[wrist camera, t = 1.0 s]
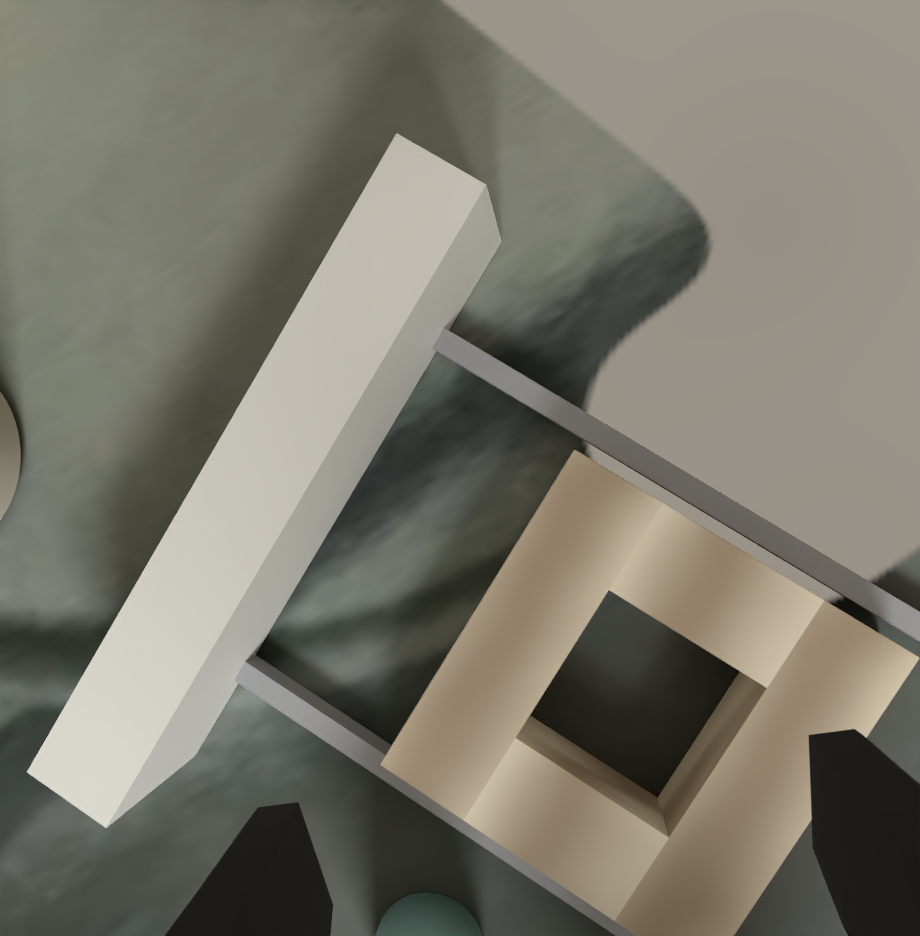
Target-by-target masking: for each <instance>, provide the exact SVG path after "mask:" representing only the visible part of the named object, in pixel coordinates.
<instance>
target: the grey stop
mask: <svg viewBox="0 0 920 936" xmlns="http://www.w3.org/2000/svg"><path fill="white" fill-rule="evenodd" d="M501 242H502V240H501V237H500V233H499V229H498V226H497V222H496V218H495V215H494V211H493V207H492V204H491V200H490V196H489V193H488V189H487V185H486V184H484V183H483V182H481V181H479V180H477V179H476V178H474V177H472V176H470V175H469V174H467V173H465V172H463V171H462V170H460V169H458V168H456V167H455V166H453V165H451V164H449V163H448V162H446V161H444V160H442V159H441V158H439V157H437V156H435V155H434V154H432V153H430V152H428V151H427V150H425V149H423V148H421V147H420V146H418V145H416V144H414V143H413V142H411V141H409V140H408V139H406V138H404V137H402V136H401V135H399V134H397V133H396V135H395V137H394V138H393V140H392V142H391V144H390V145H389V147H388V149H387V151H386V152H385V154H384V156H383V157H382V159H381V161H380V163H379V164H378V166H377V168H376V170H375V171H374V173H373V175H372V176H371V178H370V180H369V182H368V183H367V185H366V187H365V189H364V190H363V192H362V194H361V196H360V197H359V199H358V201H357V202H356V204H355V206H354V208H353V209H352V211H351V213H350V215H349V216H348V218H347V220H346V221H345V223H344V225H343V227H342V228H341V230H340V232H339V234H338V235H337V237H336V239H335V240H334V242H333V244H332V246H331V247H330V249H329V251H328V253H327V254H326V256H325V258H324V259H323V261H322V263H321V265H320V266H319V268H318V270H317V272H316V273H315V275H314V277H313V278H312V280H311V282H310V284H309V285H308V287H307V289H306V291H305V292H304V294H303V296H302V298H301V299H300V301H299V303H298V304H297V306H296V308H295V310H294V311H293V313H292V315H291V317H290V318H289V320H288V322H287V323H286V325H285V327H284V329H283V330H282V332H281V334H280V336H279V337H278V339H277V341H276V342H275V344H274V346H273V348H272V349H271V351H270V353H269V355H268V356H267V358H266V360H265V361H264V363H263V365H262V367H261V368H260V370H259V372H258V374H257V375H256V377H255V379H254V380H253V382H252V384H251V386H250V387H249V389H248V391H247V393H246V394H245V396H244V398H243V400H242V401H241V403H240V405H239V406H238V408H237V410H236V412H235V413H234V415H233V417H232V419H231V420H230V422H229V424H228V425H227V427H226V429H225V431H224V432H223V434H222V436H221V438H220V439H219V441H218V443H217V444H216V446H215V448H214V450H213V451H212V453H211V455H210V457H209V458H208V460H207V462H206V463H205V465H204V467H203V469H202V470H201V472H200V474H199V476H198V477H197V479H196V481H195V482H194V484H193V486H192V488H191V489H190V491H189V493H188V495H187V496H186V498H185V500H184V501H183V503H182V505H181V507H180V508H179V510H178V512H177V514H176V515H175V517H174V519H173V521H172V522H171V524H170V526H169V527H168V529H167V531H166V533H165V534H164V536H163V538H162V540H161V541H160V543H159V545H158V546H157V548H156V550H155V552H154V553H153V555H152V557H151V559H150V560H149V562H148V564H147V565H146V567H145V569H144V571H143V572H142V574H141V576H140V578H139V579H138V581H137V583H136V584H135V586H134V588H133V590H132V591H131V593H130V595H129V597H128V598H127V600H126V602H125V603H124V605H123V607H122V609H121V610H120V612H119V614H118V616H117V617H116V619H115V621H114V623H113V624H112V626H111V628H110V629H109V631H108V633H107V635H106V636H105V638H104V640H103V642H102V643H101V645H100V647H99V648H98V650H97V652H96V654H95V655H94V657H93V659H92V661H91V662H90V664H89V666H88V667H87V669H86V671H85V673H84V674H83V676H82V678H81V680H80V681H79V683H78V685H77V686H76V688H75V690H74V692H73V693H72V695H71V697H70V699H69V700H68V702H67V704H66V705H65V707H64V709H63V711H62V712H61V714H60V716H59V718H58V719H57V721H56V723H55V725H54V726H53V728H52V730H51V731H50V733H49V735H48V737H47V738H46V740H45V742H44V744H43V745H42V747H41V749H40V750H39V752H38V754H37V756H36V757H35V759H34V761H33V763H32V764H31V766H30V768H29V769H28V771H27V773H29V774H30V775H32V776H33V777H34V778H36V779H37V780H39V781H40V782H41V783H43V784H44V785H46V786H47V787H49V788H50V789H51V790H53V791H54V792H56V793H57V794H59V795H60V796H61V797H63V798H64V799H66V800H67V801H68V802H70V803H71V804H73V805H74V806H76V807H77V808H78V809H80V810H81V811H83V812H84V813H85V814H87V815H88V816H90V817H91V818H93V819H94V820H95V821H97V822H98V823H100V824H101V825H102V826H104V827H105V828H107V827H108V826H109V825H111V824H112V823H113V822H114V821H115V820H117V819H118V818H119V817H120V816H122V815H123V814H124V813H125V812H127V811H128V810H129V809H130V808H131V807H133V806H134V805H135V804H136V803H138V802H139V801H140V800H141V799H143V798H144V797H145V796H146V795H147V794H149V793H150V792H151V791H152V790H154V789H155V788H156V787H157V786H159V785H160V784H161V783H162V782H163V781H165V780H166V779H167V778H168V777H170V776H171V775H172V774H173V773H175V772H176V771H177V770H178V769H179V768H181V767H182V766H183V765H184V764H186V763H187V762H188V761H189V760H191V759H192V758H193V757H194V756H195V755H196V754H197V752H198V751H199V749H200V747H201V745H202V744H203V742H204V740H205V739H206V737H207V735H208V734H209V732H210V730H211V729H212V727H213V725H214V724H215V722H216V720H217V719H218V717H219V715H220V714H221V712H222V710H223V709H224V707H225V705H226V704H227V702H228V700H229V699H230V697H231V695H232V693H233V692H234V690H235V688H236V687H237V685H238V683H239V684H240V685H242V686H243V687H245V688H246V689H248V690H249V691H251V692H252V693H254V694H255V695H257V696H258V697H260V698H261V699H263V700H264V701H266V702H267V703H269V704H270V705H272V706H273V707H275V708H276V709H278V710H279V711H281V712H282V713H284V714H285V715H287V716H288V717H290V718H291V719H293V720H294V721H296V722H297V723H299V724H300V725H302V726H303V727H305V728H306V729H308V730H309V731H311V732H312V733H314V734H315V735H317V736H318V737H320V738H321V739H323V740H324V741H325V742H327V743H328V744H330V745H331V746H333V747H334V748H336V749H337V750H339V751H340V752H342V753H343V754H345V755H346V756H348V757H349V758H351V759H352V760H354V761H355V762H357V763H358V764H360V765H361V766H363V767H364V768H366V769H367V770H369V771H370V772H372V773H373V774H375V775H376V776H378V777H379V778H381V779H382V780H384V781H385V782H387V783H388V784H390V785H391V786H393V787H394V788H396V789H397V790H399V791H400V792H402V793H403V794H405V795H406V796H408V797H409V798H411V799H412V800H414V801H415V802H417V803H418V804H420V805H421V806H423V807H424V808H426V809H427V810H429V811H430V812H432V813H433V814H435V815H436V816H438V817H439V818H441V819H442V820H444V821H445V822H447V823H448V824H450V825H451V826H453V827H454V828H455V829H457V830H458V831H460V832H461V833H463V834H464V835H466V836H467V837H469V838H470V839H472V840H473V841H475V842H476V843H478V844H479V845H481V846H482V847H484V848H485V849H487V850H488V851H490V852H491V853H493V854H494V855H496V856H497V857H499V858H500V859H502V860H503V861H505V862H506V863H508V864H509V865H511V866H512V867H514V868H515V869H517V870H518V871H520V872H521V873H523V874H524V875H526V876H527V877H529V878H530V879H532V880H533V881H535V882H536V883H538V884H539V885H541V886H542V887H544V888H545V889H547V890H548V891H550V892H551V893H553V894H554V895H556V896H557V897H559V898H560V899H562V900H563V901H565V902H566V903H568V904H569V905H571V906H572V907H574V908H575V909H577V910H578V911H580V912H581V913H583V914H584V915H586V916H587V917H588V918H590V919H591V920H593V921H594V922H596V923H597V924H599V925H600V926H602V927H603V928H605V929H606V930H608V931H609V932H611V933H612V934H614V935H615V936H636V935H635V934H633V933H632V932H630V931H629V930H627V929H626V928H624V927H623V926H621V925H620V924H618V923H617V922H615V921H614V920H612V919H611V918H609V917H608V916H606V915H605V914H603V913H602V912H600V911H599V910H597V909H596V908H594V907H593V906H591V905H590V904H588V903H587V902H585V901H584V900H582V899H581V898H579V897H578V896H576V895H575V894H573V893H572V892H570V891H569V890H567V889H566V888H564V887H563V886H561V885H560V884H558V883H557V882H555V881H554V880H552V879H551V878H549V877H548V876H546V875H545V874H543V873H542V872H540V871H539V870H537V869H536V868H534V867H533V866H531V865H530V864H528V863H527V862H525V861H524V860H522V859H521V858H519V857H518V856H516V855H515V854H513V853H512V852H510V851H509V850H507V849H506V848H504V847H503V846H501V845H500V844H498V843H497V842H495V841H494V840H492V839H491V838H489V837H488V836H486V835H485V834H483V833H482V832H480V831H479V830H477V829H476V828H474V827H473V826H471V825H470V824H468V823H467V822H465V821H464V820H462V819H461V818H459V817H458V816H456V815H455V814H453V813H452V812H450V811H449V810H447V809H446V808H444V807H443V806H441V805H440V804H438V803H437V802H435V801H434V800H432V799H431V798H429V797H428V796H426V795H425V794H423V793H422V792H420V791H419V790H417V789H416V788H414V787H413V786H411V785H410V784H408V783H407V782H405V781H404V780H402V779H401V778H399V777H398V776H396V775H395V774H393V773H392V772H390V771H389V770H387V769H386V768H384V767H383V766H381V765H380V764H381V763H382V761H383V759H384V758H385V756H386V754H387V752H388V751H389V749H390V747H391V746H392V745H391V744H389V743H388V742H386V741H385V740H383V739H382V738H380V737H379V736H377V735H376V734H374V733H373V732H371V731H370V730H368V729H367V728H365V727H364V726H362V725H360V724H359V723H357V722H356V721H354V720H353V719H351V718H350V717H348V716H347V715H345V714H344V713H342V712H341V711H339V710H338V709H336V708H335V707H333V706H332V705H330V704H329V703H327V702H326V701H324V700H323V699H321V698H320V697H318V696H317V695H315V694H314V693H312V692H311V691H309V690H308V689H306V688H305V687H303V686H302V685H300V684H299V683H297V682H296V681H294V680H293V679H291V678H290V677H288V676H287V675H285V674H284V673H282V672H281V671H279V670H278V669H276V668H275V667H273V666H272V665H270V664H269V663H267V662H266V661H264V660H262V659H261V658H259V657H258V656H256V653H257V652H258V650H259V648H260V647H261V645H262V643H263V641H264V640H265V638H266V636H267V635H268V633H269V631H270V630H271V628H272V626H273V625H274V623H275V621H276V620H277V618H278V616H279V615H280V613H281V611H282V610H283V608H284V606H285V605H286V603H287V601H288V600H289V598H290V596H291V595H292V593H293V591H294V589H295V588H296V586H297V584H298V583H299V581H300V579H301V578H302V576H303V574H304V573H305V571H306V569H307V568H308V566H309V564H310V563H311V561H312V559H313V558H314V556H315V554H316V553H317V551H318V549H319V548H320V546H321V544H322V543H323V541H324V539H325V537H326V536H327V534H328V532H329V531H330V529H331V527H332V526H333V524H334V522H335V521H336V519H337V517H338V516H339V514H340V512H341V511H342V509H343V507H344V506H345V504H346V502H347V501H348V499H349V497H350V496H351V494H352V492H353V491H354V489H355V487H356V485H357V484H358V482H359V480H360V479H361V477H362V475H363V474H364V472H365V470H366V469H367V467H368V465H369V464H370V462H371V460H372V459H373V457H374V455H375V454H376V452H377V450H378V449H379V447H380V445H381V444H382V442H383V440H384V439H385V437H386V435H387V433H388V432H389V430H390V428H391V427H392V425H393V423H394V422H395V420H396V418H397V417H398V415H399V413H400V412H401V410H402V408H403V407H404V405H405V403H406V402H407V400H408V398H409V397H410V395H411V393H412V392H413V390H414V388H415V387H416V385H417V383H418V381H419V380H420V378H421V376H422V375H423V373H424V371H425V370H426V368H427V366H428V365H429V363H430V361H431V360H432V358H433V356H434V355H435V353H436V352H438V353H440V354H441V355H443V356H445V357H446V358H448V359H450V360H451V361H453V362H455V363H456V364H458V365H460V366H461V367H463V368H465V369H466V370H468V371H470V372H471V373H473V374H475V375H476V376H478V377H480V378H481V379H483V380H485V381H486V382H488V383H490V384H491V385H493V386H495V387H496V388H498V389H500V390H501V391H503V392H505V393H506V394H508V395H510V396H511V397H513V398H515V399H516V400H518V401H520V402H521V403H523V404H525V405H526V406H528V407H530V408H531V409H533V410H535V411H536V412H538V413H540V414H541V415H543V416H545V417H546V418H548V419H549V420H551V421H553V422H554V423H556V424H558V425H559V426H561V427H563V428H564V429H566V430H568V431H569V432H571V433H573V434H574V435H576V436H578V437H579V438H581V439H583V440H584V441H586V442H588V443H589V444H591V445H593V446H594V447H596V448H598V449H599V450H601V451H603V452H604V453H606V454H608V455H610V456H611V457H613V458H614V459H616V460H618V461H620V462H621V463H623V464H625V465H626V466H628V467H629V468H631V469H633V470H634V471H636V472H638V473H639V474H641V475H643V476H644V477H646V478H648V479H649V480H651V481H653V482H654V483H656V484H658V485H659V486H661V487H663V488H664V489H666V490H668V491H669V492H671V493H673V494H674V495H676V496H678V497H679V498H681V499H682V500H684V501H686V502H687V503H689V504H691V505H692V506H694V507H696V508H697V509H699V510H701V511H702V512H704V513H706V514H707V515H709V516H711V517H712V518H714V519H716V520H717V521H719V522H721V523H722V524H725V525H726V526H727V527H729V528H731V529H733V530H734V531H736V532H737V533H739V534H741V535H742V536H744V537H746V538H747V539H749V540H751V541H752V542H754V543H756V544H757V545H759V546H761V547H762V548H764V549H766V550H767V551H769V552H771V553H772V554H774V555H776V556H777V557H779V558H781V559H782V560H784V561H786V562H787V563H789V564H791V565H792V566H794V567H796V568H797V569H799V570H801V571H802V572H804V573H806V574H807V575H809V576H811V577H812V578H814V579H816V580H817V581H819V582H820V583H822V584H824V585H825V586H827V587H829V588H831V589H832V590H834V591H835V592H837V593H839V594H840V595H842V596H844V597H845V598H847V599H849V600H850V601H852V602H854V603H855V604H857V605H859V606H860V607H862V608H864V609H865V610H867V611H869V612H870V613H872V614H874V615H875V616H877V617H879V618H880V619H882V620H884V621H885V622H887V623H889V624H890V625H892V626H894V627H895V628H897V629H899V630H900V631H902V632H904V633H905V634H907V635H909V636H910V637H912V638H914V639H915V640H917V641H919V642H920V612H919V611H917V610H916V609H914V608H912V607H911V606H909V605H907V604H906V603H904V602H902V601H901V600H899V599H897V598H896V597H894V596H892V595H891V594H889V593H887V592H886V591H884V590H882V589H881V588H879V587H877V586H876V585H874V584H872V583H871V582H869V581H867V580H866V579H864V578H862V577H860V576H859V575H857V574H855V573H854V572H852V571H850V570H849V569H847V568H845V567H844V566H842V565H840V564H839V563H837V562H835V561H834V560H832V559H830V558H829V557H827V556H825V555H824V554H822V553H820V552H819V551H817V550H815V549H813V548H812V547H810V546H809V545H807V544H805V543H804V542H802V541H800V540H798V539H797V538H795V537H794V536H792V535H790V534H789V533H787V532H785V531H783V530H782V529H780V528H778V527H777V526H775V525H773V524H772V523H770V522H768V521H767V520H765V519H763V518H762V517H760V516H758V515H757V514H755V513H753V512H752V511H750V510H748V509H747V508H745V507H743V506H742V505H740V504H738V503H737V502H735V501H733V500H732V499H730V498H728V497H727V496H725V495H723V494H722V493H720V492H718V491H717V490H715V489H713V488H712V487H710V486H708V485H706V484H705V483H703V482H701V481H699V480H698V479H696V478H694V477H693V476H691V475H690V474H688V473H686V472H685V471H683V470H681V469H680V468H678V467H676V466H675V465H673V464H671V463H670V462H668V461H666V460H665V459H663V458H661V457H660V456H658V455H656V454H655V453H653V452H651V451H650V450H647V449H646V448H645V447H643V446H641V445H640V444H638V443H636V442H634V441H633V440H631V439H629V438H628V437H626V436H624V435H623V434H621V433H619V432H618V431H616V430H614V429H613V428H611V427H609V426H608V425H606V424H604V423H603V422H601V421H599V420H598V419H596V418H594V417H593V416H591V415H589V414H588V413H586V412H584V411H583V410H581V409H579V408H578V407H576V406H574V405H573V404H571V403H569V402H568V401H566V400H564V399H563V398H561V397H559V396H558V395H556V394H554V393H552V392H551V391H549V390H547V389H546V388H544V387H542V386H541V385H539V384H537V383H536V382H534V381H532V380H531V379H529V378H527V377H526V376H524V375H522V374H521V373H519V372H517V371H516V370H514V369H512V368H511V367H509V366H507V365H506V364H504V363H502V362H501V361H499V360H497V359H496V358H494V357H492V356H491V355H489V354H487V353H486V352H484V351H482V350H481V349H479V348H477V347H475V346H474V345H472V344H470V343H469V342H467V341H465V340H464V339H462V338H460V337H459V336H457V335H455V334H454V333H452V332H450V331H449V329H450V328H451V326H452V324H453V323H454V321H455V319H456V318H457V316H458V314H459V313H460V311H461V309H462V308H463V306H464V304H465V303H466V301H467V299H468V298H469V296H470V294H471V293H472V291H473V289H474V288H475V286H476V284H477V283H478V281H479V279H480V277H481V276H482V274H483V272H484V271H485V269H486V267H487V266H488V264H489V262H490V261H491V259H492V257H493V256H494V254H495V252H496V251H497V249H498V247H499V246H500V244H501Z"/></svg>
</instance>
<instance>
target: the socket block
mask: <svg viewBox="0 0 920 936" xmlns="http://www.w3.org/2000/svg"><path fill="white" fill-rule="evenodd" d="M609 590H610V591H611V592H613V593H615V594H616V595H618V596H619V597H621V598H623V599H624V600H626V601H627V602H629V603H631V604H632V605H634V606H636V607H637V608H639V609H640V610H642V611H644V612H645V613H647V614H648V615H650V616H652V617H653V618H655V619H656V620H658V621H660V622H661V623H663V624H665V625H666V626H668V627H669V628H671V629H673V630H674V631H676V632H677V633H679V634H681V635H682V636H684V637H685V638H687V639H689V640H690V641H692V642H694V643H695V644H697V645H698V646H700V647H702V648H703V649H705V650H706V651H708V652H710V653H711V654H713V655H714V656H716V657H718V658H719V659H721V660H723V661H724V662H726V663H727V664H729V665H731V666H732V667H734V668H735V669H737V670H739V671H740V672H739V673H738V675H737V676H736V678H735V679H734V681H733V683H732V684H731V686H730V687H729V689H728V690H727V692H726V693H725V695H724V696H723V698H722V699H721V701H720V703H719V704H718V706H717V707H716V709H715V710H714V712H713V713H712V715H711V716H710V718H709V719H708V721H707V723H706V724H705V726H704V727H703V729H702V730H701V732H700V733H699V735H698V736H697V738H696V739H695V741H694V743H693V744H692V746H691V747H690V749H689V750H688V752H687V753H686V755H685V756H684V758H683V759H682V761H681V763H680V764H679V766H678V767H677V769H676V770H675V772H674V773H673V775H672V776H671V778H670V779H669V781H668V782H667V784H666V786H665V787H664V789H663V790H662V792H661V793H660V795H659V796H658V798H657V797H656V796H654V795H653V794H651V793H650V792H648V791H646V790H645V789H643V788H642V787H640V786H639V785H637V784H636V783H634V782H632V781H631V780H629V779H628V778H626V777H625V776H623V775H622V774H620V773H619V772H617V771H615V770H614V769H612V768H611V767H609V766H608V765H606V764H605V763H603V762H602V761H600V760H598V759H597V758H595V757H594V756H592V755H591V754H589V753H588V752H586V751H584V750H583V749H581V748H580V747H578V746H577V745H575V744H574V743H572V742H571V741H569V740H567V739H566V738H564V737H563V736H561V735H560V734H558V733H557V732H555V731H554V730H552V729H550V728H549V727H547V726H546V725H544V724H543V723H541V722H540V721H538V720H536V719H535V718H533V717H532V716H530V714H531V713H532V711H533V709H534V708H535V706H536V705H537V703H538V702H539V700H540V698H541V697H542V695H543V694H544V692H545V690H546V689H547V687H548V686H549V684H550V683H551V681H552V679H553V678H554V676H555V675H556V673H557V671H558V670H559V668H560V667H561V665H562V663H563V662H564V660H565V659H566V657H567V656H568V654H569V652H570V651H571V649H572V648H573V646H574V644H575V643H576V641H577V640H578V638H579V637H580V635H581V633H582V632H583V630H584V629H585V627H586V625H587V624H588V622H589V621H590V619H591V617H592V616H593V614H594V613H595V611H596V610H597V608H598V606H599V605H600V603H601V602H602V600H603V598H604V597H605V595H606V594H607V592H608V591H609ZM918 660H919V657H918V656H916V655H914V654H913V653H911V652H909V651H908V650H906V649H904V648H903V647H901V646H899V645H898V644H896V643H894V642H893V641H891V640H889V639H888V638H886V637H884V636H883V635H881V634H879V633H878V632H876V631H874V630H873V629H871V628H870V627H868V626H866V625H865V624H863V623H861V622H860V621H858V620H856V619H855V618H853V617H851V616H850V615H848V614H846V613H845V612H843V611H841V610H840V609H838V608H836V607H835V606H833V605H831V604H830V603H828V602H826V601H825V600H823V599H821V598H820V597H818V596H816V595H815V594H813V593H812V592H810V591H808V590H806V589H805V588H803V587H801V586H800V585H798V584H797V583H795V582H793V581H792V580H790V579H788V578H787V577H785V576H783V575H782V574H780V573H778V572H777V571H775V570H773V569H772V568H770V567H768V566H767V565H765V564H763V563H762V562H760V561H759V560H757V559H755V558H753V557H752V556H750V555H748V554H747V553H745V552H744V551H742V550H740V549H738V548H737V547H735V546H734V545H732V544H730V543H729V542H727V541H725V540H724V539H722V538H720V537H719V536H717V535H715V534H714V533H712V532H710V531H709V530H707V529H705V528H704V527H702V526H700V525H699V524H697V523H696V522H694V521H692V520H691V519H689V518H687V517H686V516H684V515H682V514H681V513H679V512H677V511H675V510H674V509H672V508H671V507H669V506H667V505H666V504H664V503H662V502H661V501H659V500H657V499H656V498H654V497H653V496H651V495H649V494H648V493H646V492H644V491H642V490H641V489H639V488H637V487H636V486H634V485H633V484H631V483H629V482H628V481H626V480H624V479H623V478H621V477H619V476H618V475H616V474H614V473H613V472H611V471H609V470H608V469H606V468H604V467H603V466H601V465H599V464H598V463H596V462H595V461H593V460H591V459H590V458H588V457H586V456H585V455H583V454H581V453H580V452H578V451H576V450H573V452H572V453H571V455H570V457H569V458H568V460H567V462H566V463H565V465H564V466H563V468H562V470H561V471H560V473H559V475H558V476H557V478H556V479H555V481H554V483H553V484H552V486H551V487H550V489H549V491H548V492H547V494H546V496H545V497H544V499H543V500H542V502H541V504H540V505H539V507H538V509H537V510H536V512H535V513H534V515H533V517H532V518H531V520H530V522H529V523H528V525H527V526H526V528H525V530H524V531H523V533H522V534H521V536H520V538H519V539H518V541H517V543H516V544H515V546H514V547H513V549H512V551H511V552H510V554H509V556H508V557H507V559H506V560H505V562H504V564H503V565H502V567H501V569H500V570H499V572H498V573H497V575H496V577H495V578H494V580H493V581H492V583H491V585H490V586H489V588H488V590H487V591H486V593H485V594H484V596H483V598H482V599H481V601H480V603H479V604H478V606H477V607H476V609H475V611H474V612H473V614H472V615H471V617H470V619H469V620H468V622H467V624H466V625H465V627H464V628H463V630H462V632H461V633H460V635H459V637H458V638H457V640H456V641H455V643H454V645H453V646H452V648H451V650H450V651H449V653H448V654H447V656H446V658H445V659H444V661H443V662H442V664H441V666H440V667H439V669H438V671H437V672H436V674H435V675H434V677H433V679H432V680H431V682H430V684H429V685H428V687H427V688H426V690H425V692H424V693H423V695H422V697H421V698H420V700H419V701H418V703H417V705H416V706H415V708H414V709H413V711H412V713H411V714H410V716H409V718H408V719H407V721H406V722H405V724H404V726H403V727H402V729H401V731H400V732H399V734H398V735H397V737H396V739H395V741H394V742H393V744H392V746H391V747H390V749H389V751H388V752H387V754H386V756H385V758H384V759H383V761H382V763H381V764H380V765H381V766H383V767H384V768H386V769H387V770H389V771H390V772H392V773H393V774H395V775H396V776H398V777H399V778H401V779H402V780H404V781H405V782H407V783H408V784H410V785H411V786H413V787H414V788H416V789H417V790H419V791H420V792H422V793H423V794H425V795H426V796H428V797H429V798H431V799H432V800H434V801H435V802H437V803H438V804H440V805H441V806H443V807H444V808H446V809H447V810H449V811H450V812H452V813H453V814H455V815H456V816H458V817H459V818H461V819H462V820H464V821H465V822H467V823H468V824H470V825H471V826H473V827H474V828H476V829H477V830H479V831H480V832H482V833H483V834H485V835H486V836H488V837H489V838H491V839H492V840H494V841H495V842H497V843H498V844H500V845H501V846H503V847H504V848H506V849H507V850H509V851H510V852H512V853H513V854H515V855H516V856H518V857H519V858H521V859H522V860H524V861H525V862H527V863H528V864H530V865H531V866H533V867H534V868H536V869H537V870H539V871H540V872H542V873H543V874H545V875H546V876H548V877H549V878H551V879H552V880H554V881H555V882H557V883H558V884H560V885H561V886H563V887H564V888H566V889H567V890H569V891H570V892H572V893H573V894H575V895H576V896H578V897H579V898H581V899H582V900H584V901H585V902H587V903H588V904H590V905H591V906H593V907H594V908H596V909H597V910H599V911H600V912H602V913H603V914H605V915H606V916H608V917H609V918H611V919H612V920H614V921H615V922H617V923H618V924H620V925H621V926H623V927H624V928H626V929H627V930H629V931H630V932H632V933H633V934H635V935H636V936H734V935H735V933H736V932H737V930H738V929H739V927H740V926H741V924H742V923H743V921H744V920H745V918H746V917H747V915H748V914H749V912H750V911H751V909H752V908H753V906H754V905H755V903H756V902H757V900H758V899H759V897H760V896H761V894H762V893H763V891H764V890H765V888H766V887H767V885H768V884H769V882H770V881H771V879H772V878H773V876H774V875H775V873H776V872H777V870H778V869H779V867H780V866H781V864H782V863H783V861H784V860H785V858H786V857H787V855H788V854H789V852H790V851H791V849H792V848H793V847H794V845H795V844H796V842H797V841H798V839H799V838H800V836H801V835H802V833H803V832H804V830H805V829H806V827H807V826H808V824H809V823H810V821H811V820H812V813H811V786H810V760H809V735H812V734H820V733H827V732H835V731H842V730H850V729H855V730H857V731H858V732H860V733H861V734H862V735H864V736H865V737H867V736H868V734H869V733H870V731H871V730H872V728H873V727H874V725H875V724H876V723H877V721H878V720H879V718H880V717H881V715H882V714H883V712H884V711H885V709H886V708H887V706H888V705H889V703H890V702H891V700H892V699H893V697H894V696H895V694H896V693H897V691H898V690H899V688H900V687H901V685H902V684H903V682H904V681H905V679H906V678H907V676H908V675H909V673H910V672H911V670H912V669H913V667H914V666H915V664H916V663H917V661H918Z"/></svg>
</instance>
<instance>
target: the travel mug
mask: <svg viewBox="0 0 920 936" xmlns="http://www.w3.org/2000/svg"><path fill="white" fill-rule="evenodd" d="M20 463H21V450H20V440H19V434H18V429H17V426H16V422H15V419H14V416H13V414H12V411H11V409H10V407H9V405H8V403H7V401H6V400H5V398H4V396H3V395H2V393H1V392H0V520H1V518H2V517H3V515H4V514H5V512H6V511H7V509H8V507H9V505H10V503H11V501H12V498H13V496H14V493H15V490H16V486H17V483H18V478H19V473H20Z"/></svg>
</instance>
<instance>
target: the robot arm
mask: <svg viewBox="0 0 920 936" xmlns="http://www.w3.org/2000/svg"><path fill="white" fill-rule="evenodd" d="M809 760H810V786H811V813H812V839H813V849H814V852H815V855H816V857H817V860H818V863H819V865H820V868H821V870H822V873H823V876H824V878H825V881H826V884H827V886H828V889H829V892H830V894H831V897H832V899H833V902H834V904H835V907H836V909H837V912H838V914H839V917H840V919H841V922H842V924H843V926H844V928H845V930H846V932H847V934H848V936H920V784H919V783H918V782H917V781H915V780H914V779H913V778H912V777H911V776H910V775H908V774H907V773H906V772H905V771H904V770H903V769H901V768H900V767H899V766H898V765H897V764H896V763H895V762H893V761H892V760H891V759H890V758H889V757H888V756H887V755H885V754H884V753H883V752H882V751H881V750H880V749H879V748H877V747H876V746H875V745H874V744H873V743H872V742H870V741H869V740H868V739H867V738H866V737H865V736H864V735H862V734H861V733H860V732H858V731H857V730H855V729H850V730H842V731H835V732H827V733H820V734H812V735H809ZM332 910H333V904H332V901H331V898H330V895H329V892H328V889H327V886H326V883H325V880H324V877H323V874H322V871H321V868H320V865H319V862H318V859H317V856H316V853H315V850H314V847H313V844H312V841H311V838H310V835H309V832H308V830H307V827H306V824H305V821H304V818H303V815H302V812H301V809H300V806H299V803H298V802H296V803H289V804H281V805H274V806H266V807H259V808H257V809H256V811H255V812H254V813H253V815H252V816H251V817H250V819H249V820H248V822H247V823H246V824H245V826H244V827H243V828H242V830H241V831H240V832H239V834H238V835H237V837H236V838H235V839H234V841H233V842H232V844H231V845H230V847H229V848H228V849H227V851H226V852H225V854H224V855H223V856H222V858H221V859H220V861H219V862H218V863H217V865H216V866H215V868H214V869H213V870H212V872H211V873H210V875H209V876H208V877H207V879H206V880H205V882H204V883H203V884H202V886H201V887H200V889H199V890H198V891H197V893H196V894H195V895H194V897H193V898H192V900H191V901H190V902H189V904H188V905H187V906H186V908H185V909H184V910H183V912H182V913H181V914H180V916H179V917H178V918H177V920H176V921H175V922H174V924H173V925H172V926H171V928H170V929H169V930H168V932H167V933H166V935H165V936H330V933H331V922H332Z"/></svg>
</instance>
